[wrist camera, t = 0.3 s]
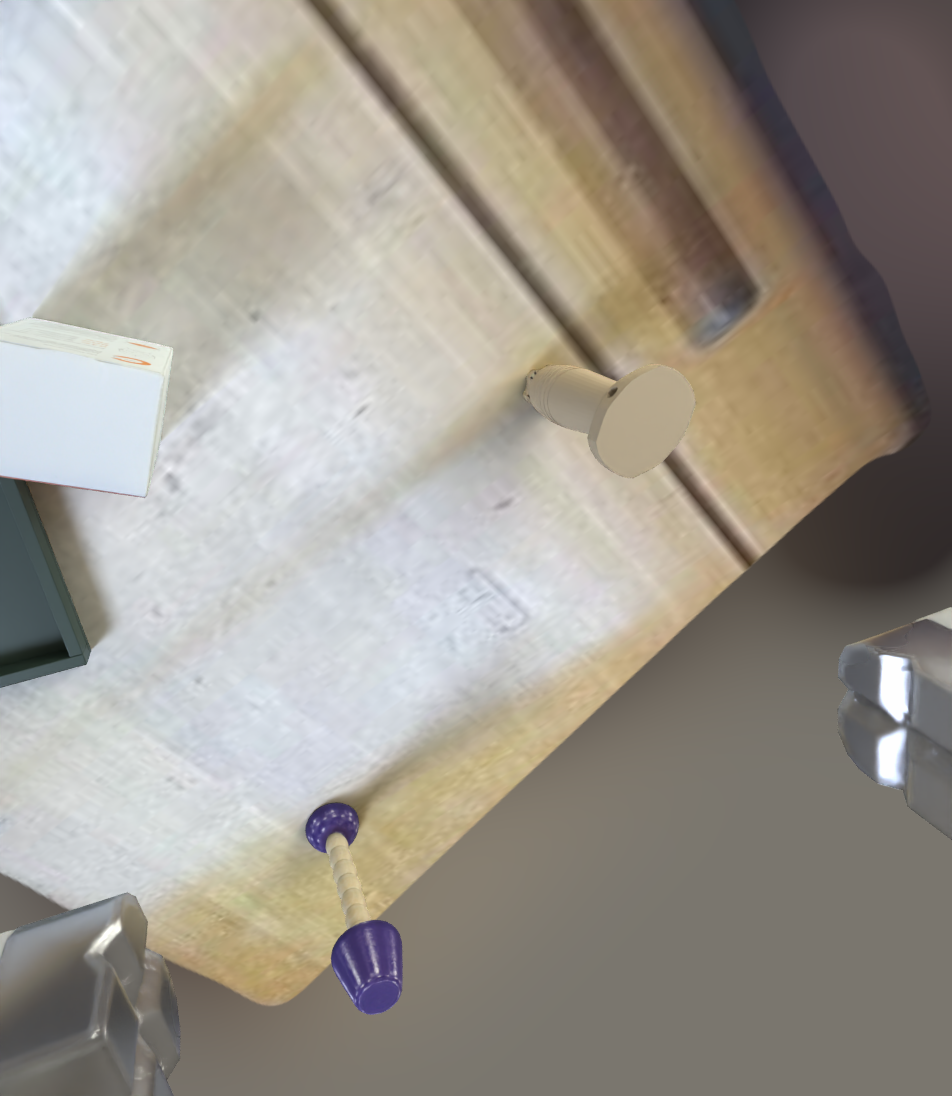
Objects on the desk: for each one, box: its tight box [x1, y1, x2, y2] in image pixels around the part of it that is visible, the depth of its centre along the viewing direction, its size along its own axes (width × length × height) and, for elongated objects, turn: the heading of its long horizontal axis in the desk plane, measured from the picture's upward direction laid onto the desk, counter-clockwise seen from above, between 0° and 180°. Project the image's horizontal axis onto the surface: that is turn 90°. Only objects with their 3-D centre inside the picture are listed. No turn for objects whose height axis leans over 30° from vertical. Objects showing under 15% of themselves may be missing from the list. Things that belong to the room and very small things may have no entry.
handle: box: [523, 364, 696, 478], centre depth 50 cm, size 5×6×15 cm
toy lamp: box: [305, 803, 403, 1014], centre depth 55 cm, size 5×5×17 cm
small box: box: [0, 317, 173, 498], centre depth 42 cm, size 8×6×13 cm
